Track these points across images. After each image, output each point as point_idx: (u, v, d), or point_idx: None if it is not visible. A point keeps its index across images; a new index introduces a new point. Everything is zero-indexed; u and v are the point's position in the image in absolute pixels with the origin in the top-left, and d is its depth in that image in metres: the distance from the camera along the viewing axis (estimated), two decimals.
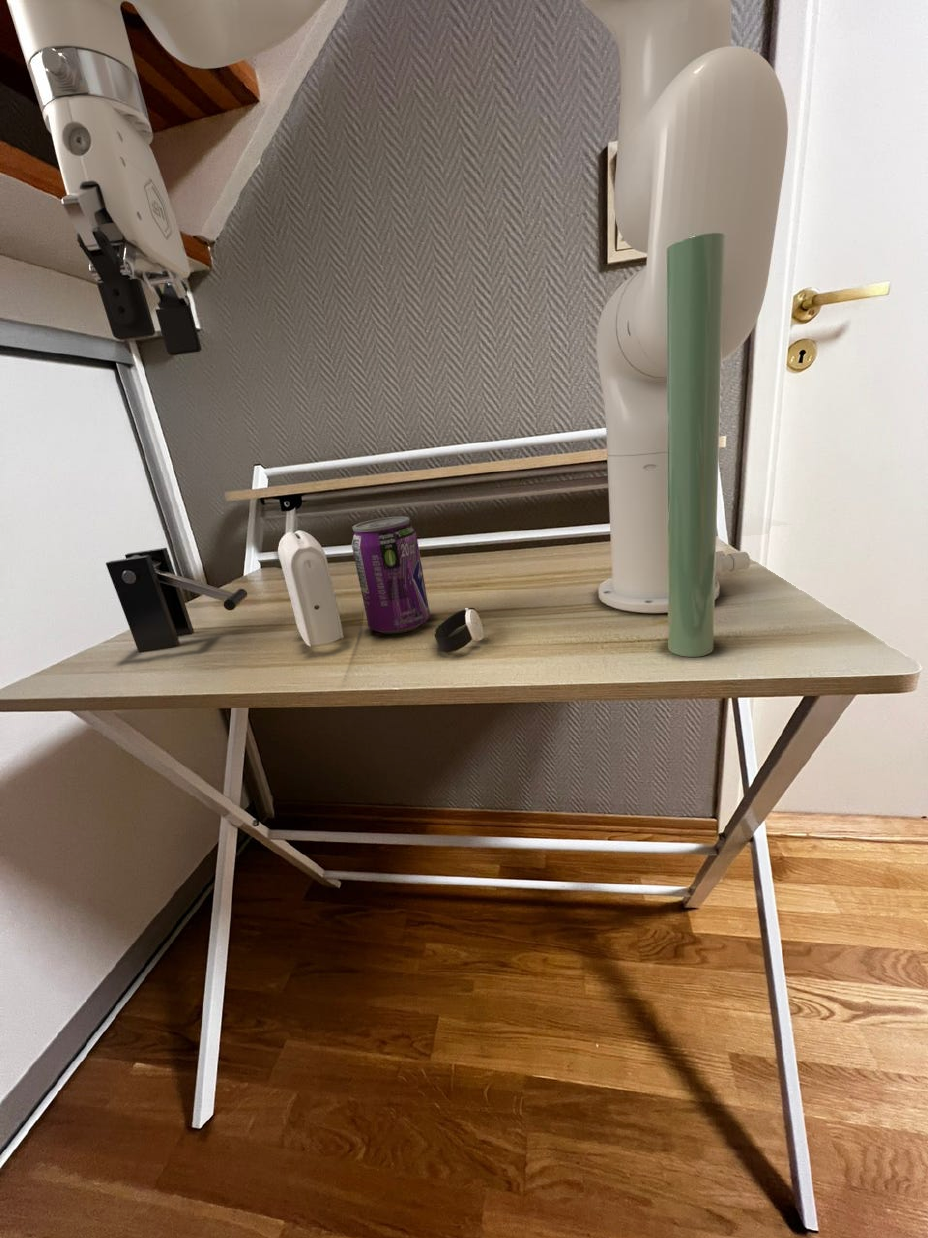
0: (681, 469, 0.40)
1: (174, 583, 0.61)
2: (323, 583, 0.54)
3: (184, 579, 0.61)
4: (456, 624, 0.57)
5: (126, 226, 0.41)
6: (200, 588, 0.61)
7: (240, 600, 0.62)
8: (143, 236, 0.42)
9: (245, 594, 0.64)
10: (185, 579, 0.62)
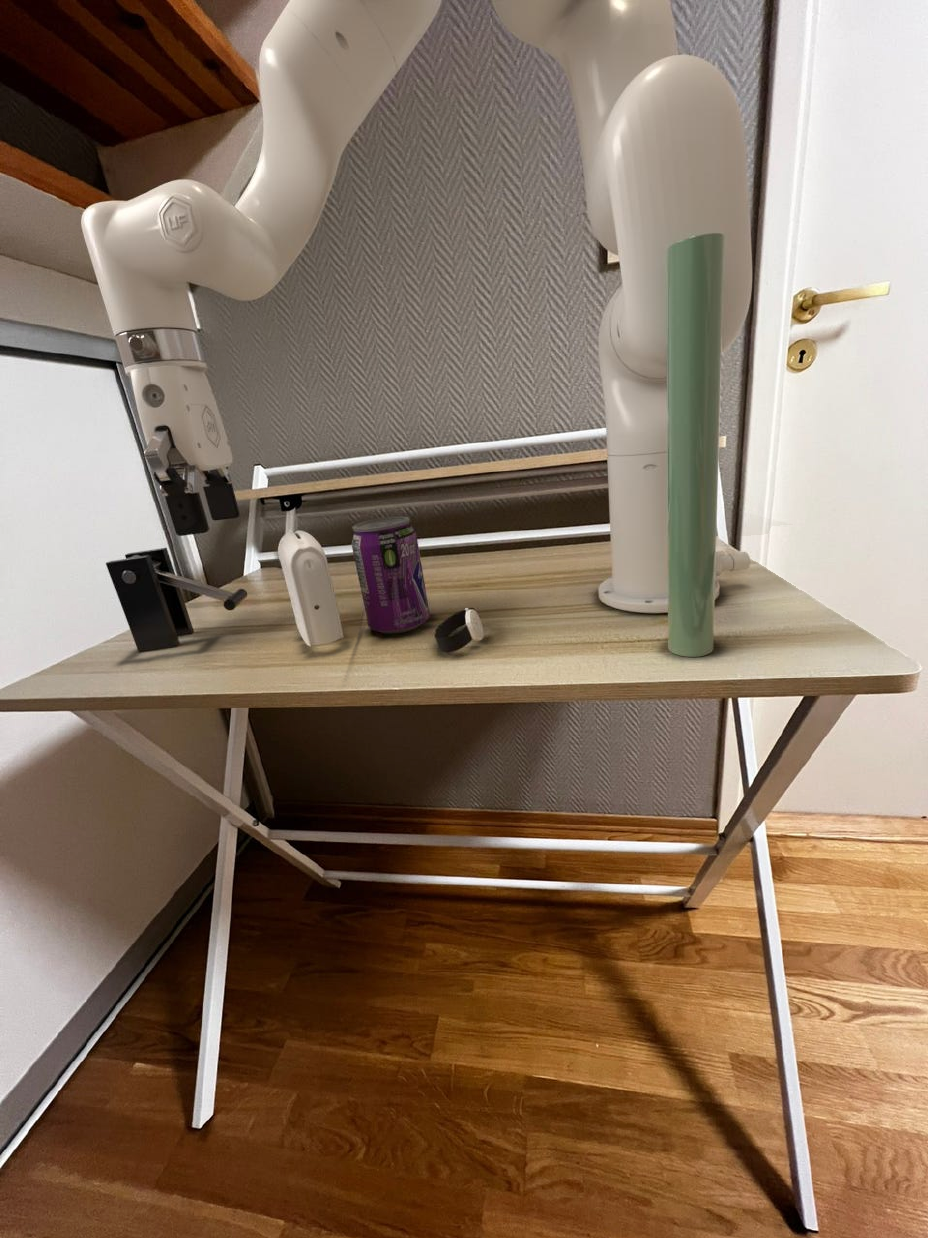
0: (681, 469, 0.40)
1: (174, 583, 0.61)
2: (323, 583, 0.54)
3: (184, 579, 0.61)
4: (456, 624, 0.57)
5: (189, 456, 0.52)
6: (200, 588, 0.61)
7: (240, 600, 0.62)
8: (202, 460, 0.53)
9: (245, 594, 0.64)
10: (185, 579, 0.62)
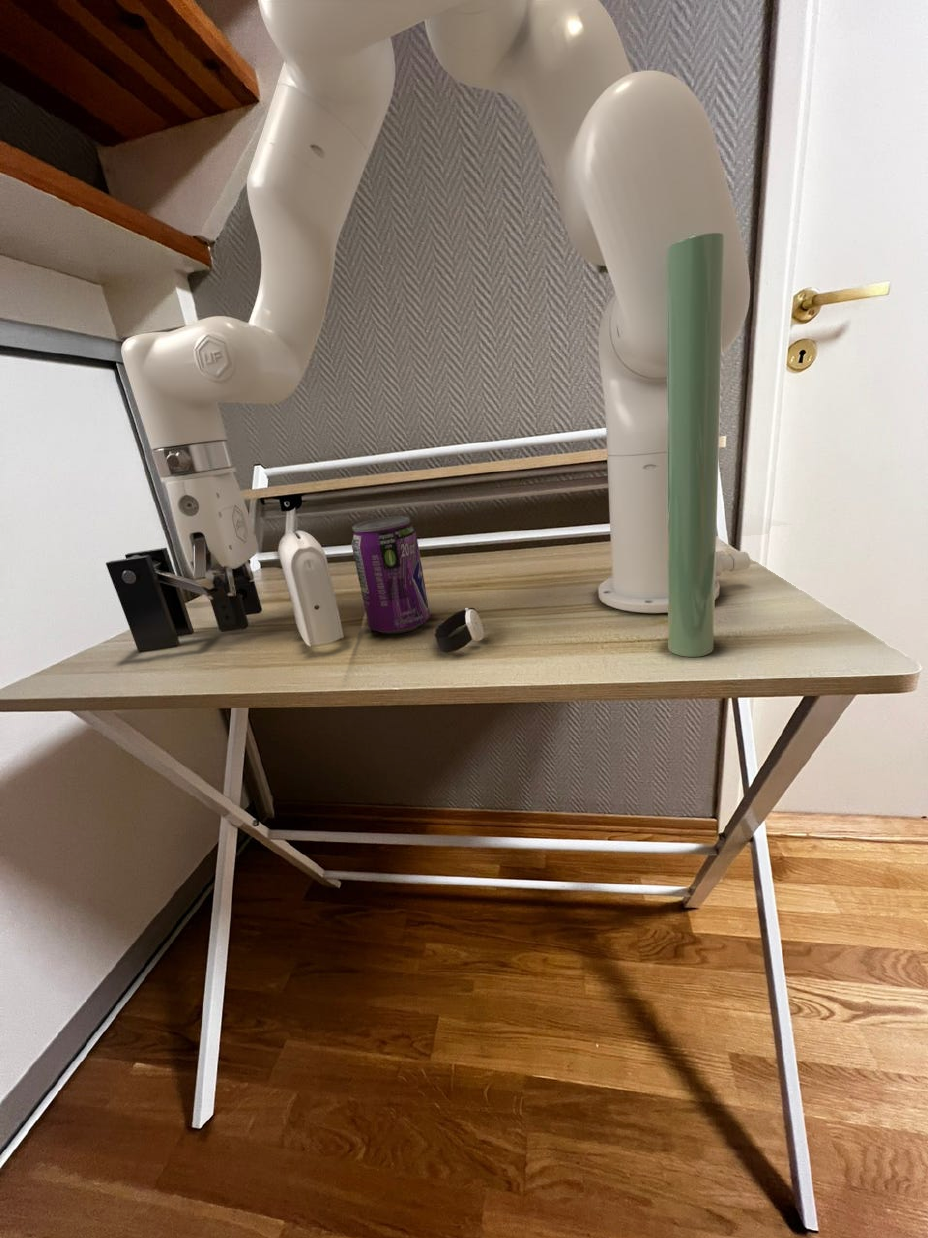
0: (681, 469, 0.40)
1: (174, 583, 0.61)
2: (323, 583, 0.54)
3: (184, 579, 0.61)
4: (456, 624, 0.57)
5: (222, 558, 0.56)
6: (200, 588, 0.61)
7: None
8: (233, 561, 0.57)
9: (245, 594, 0.64)
10: (185, 579, 0.62)
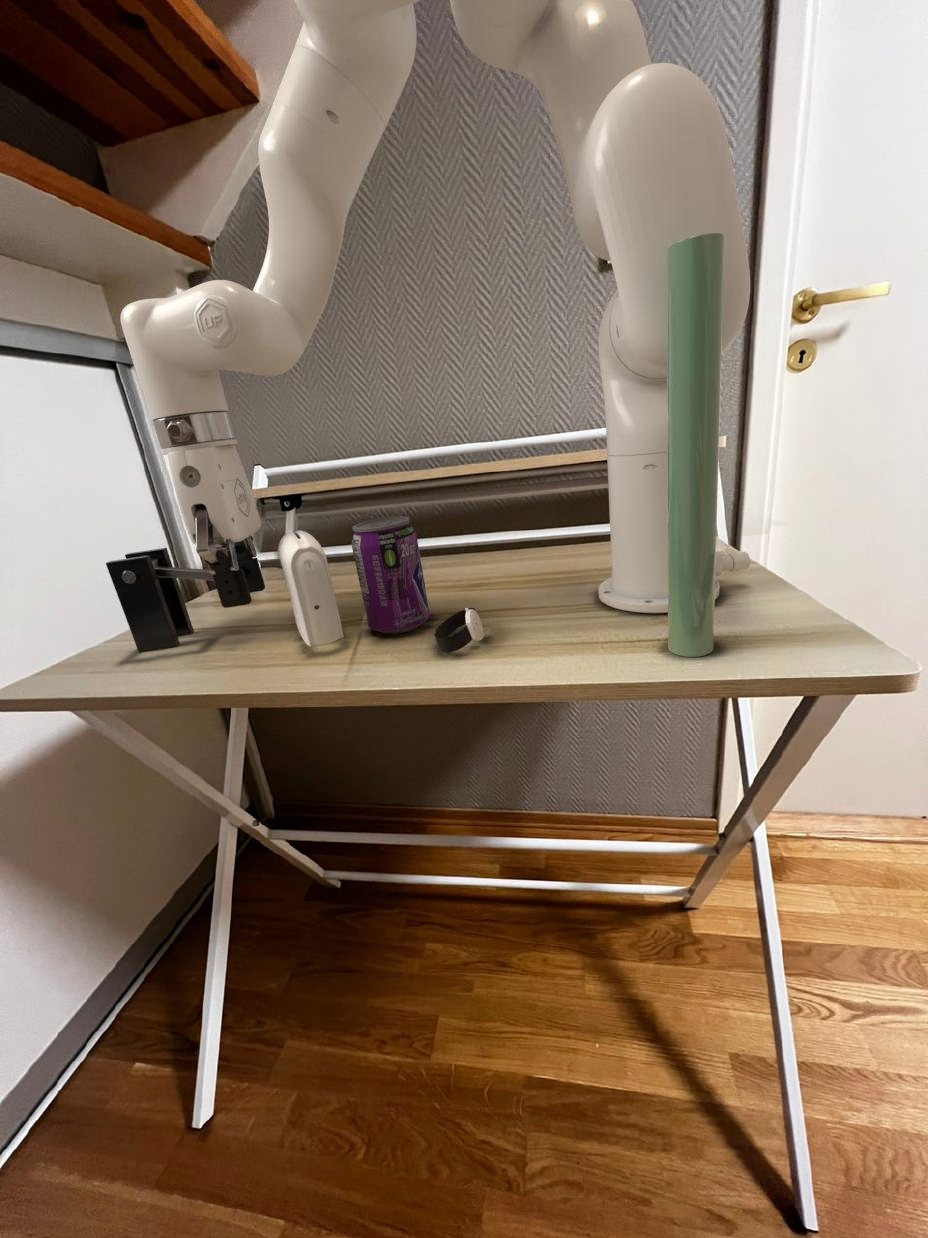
0: (681, 469, 0.40)
1: (175, 575, 0.61)
2: (323, 583, 0.54)
3: (183, 569, 0.61)
4: (456, 624, 0.57)
5: (224, 531, 0.55)
6: (201, 573, 0.61)
7: None
8: (235, 534, 0.56)
9: (247, 571, 0.63)
10: (184, 569, 0.61)
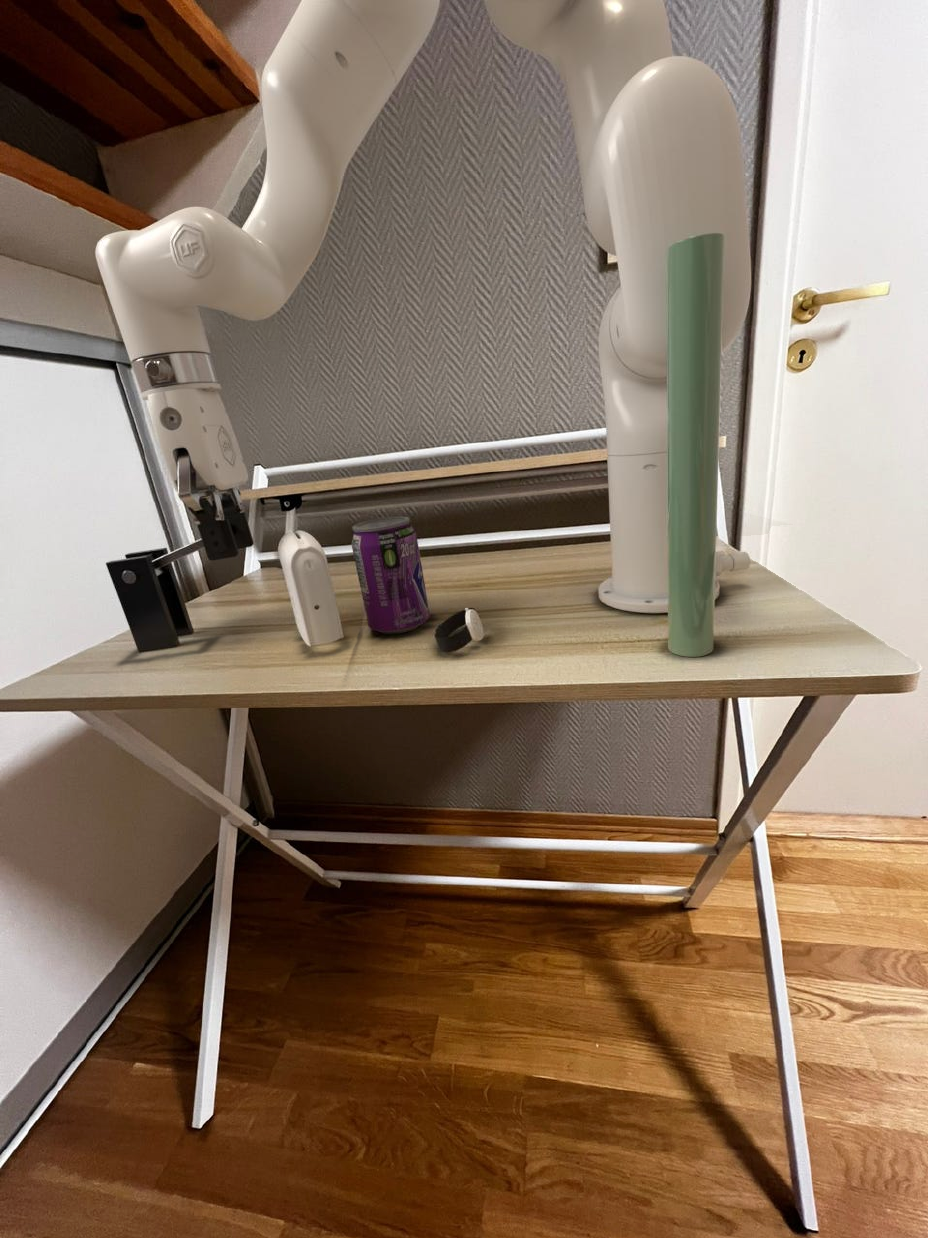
0: (681, 469, 0.40)
1: (170, 559, 0.60)
2: (323, 583, 0.54)
3: (175, 550, 0.60)
4: (456, 624, 0.57)
5: (207, 476, 0.53)
6: (190, 546, 0.60)
7: None
8: (219, 480, 0.54)
9: (232, 526, 0.61)
10: (176, 550, 0.60)
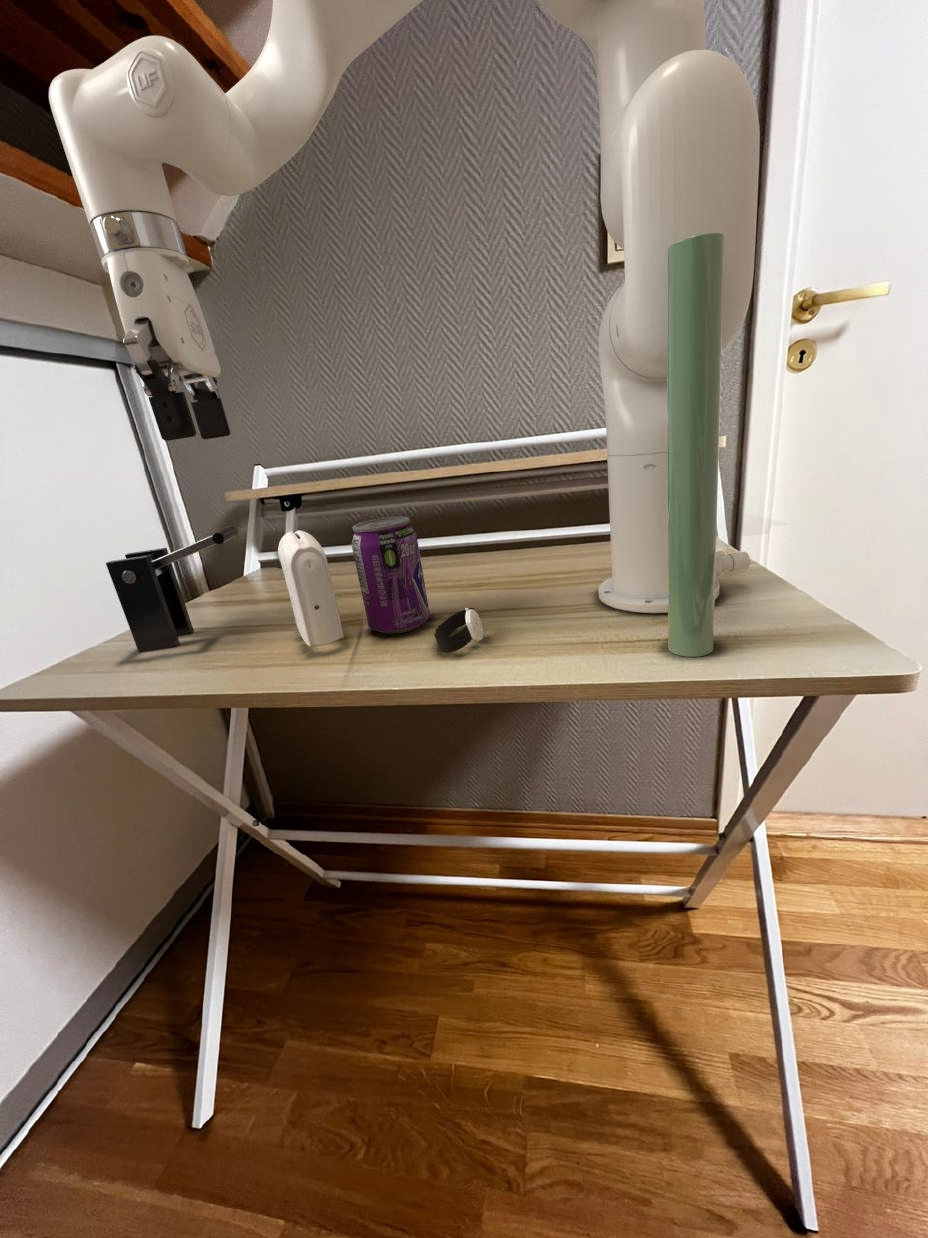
0: (681, 469, 0.40)
1: (170, 559, 0.60)
2: (323, 583, 0.54)
3: (175, 551, 0.60)
4: (456, 624, 0.57)
5: (172, 351, 0.50)
6: (191, 547, 0.60)
7: (228, 531, 0.60)
8: (186, 357, 0.50)
9: (232, 527, 0.61)
10: None
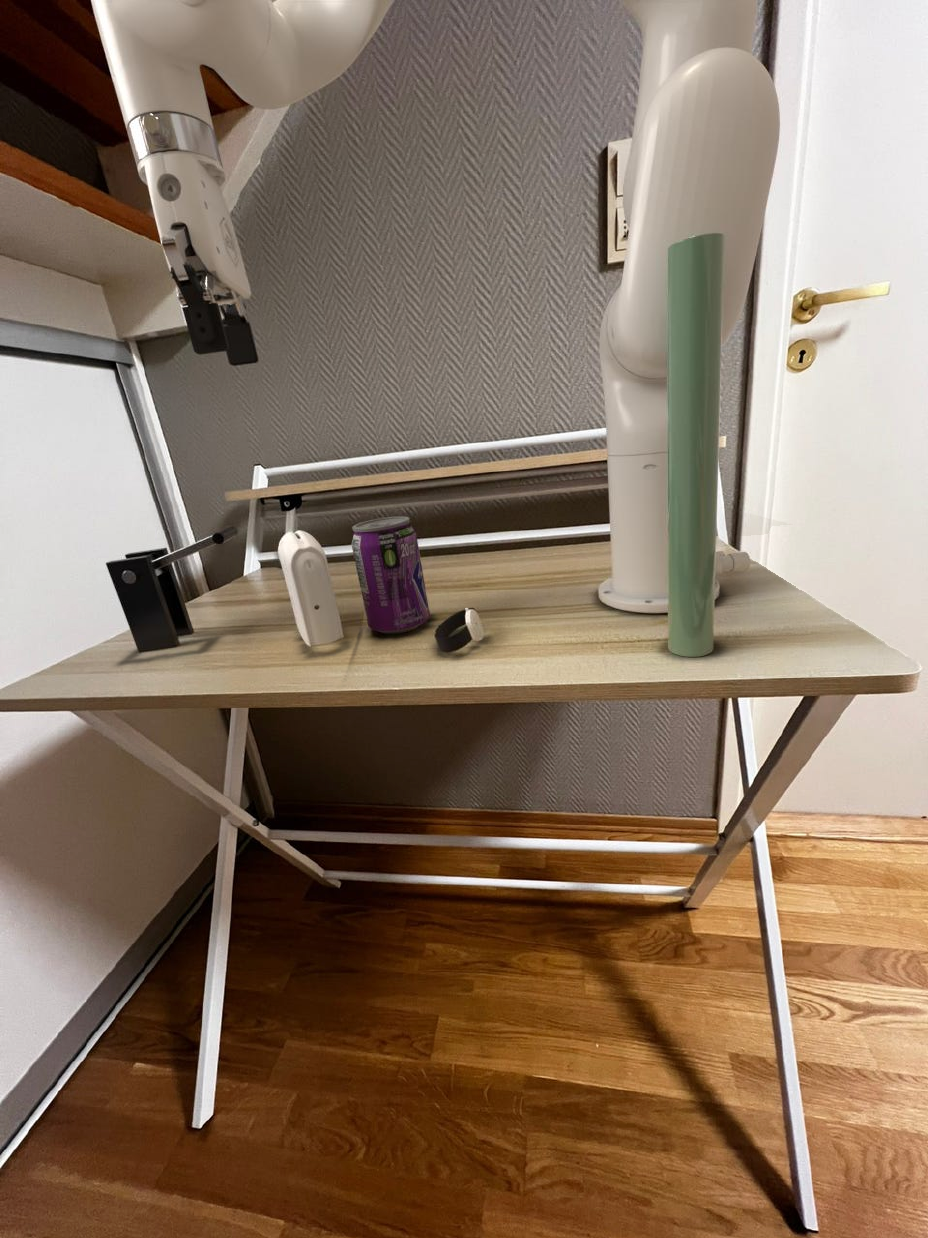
0: (681, 469, 0.40)
1: (170, 559, 0.60)
2: (323, 583, 0.54)
3: (175, 551, 0.60)
4: (456, 624, 0.57)
5: (208, 259, 0.49)
6: (191, 547, 0.60)
7: (228, 531, 0.60)
8: (221, 267, 0.50)
9: (232, 527, 0.61)
10: None
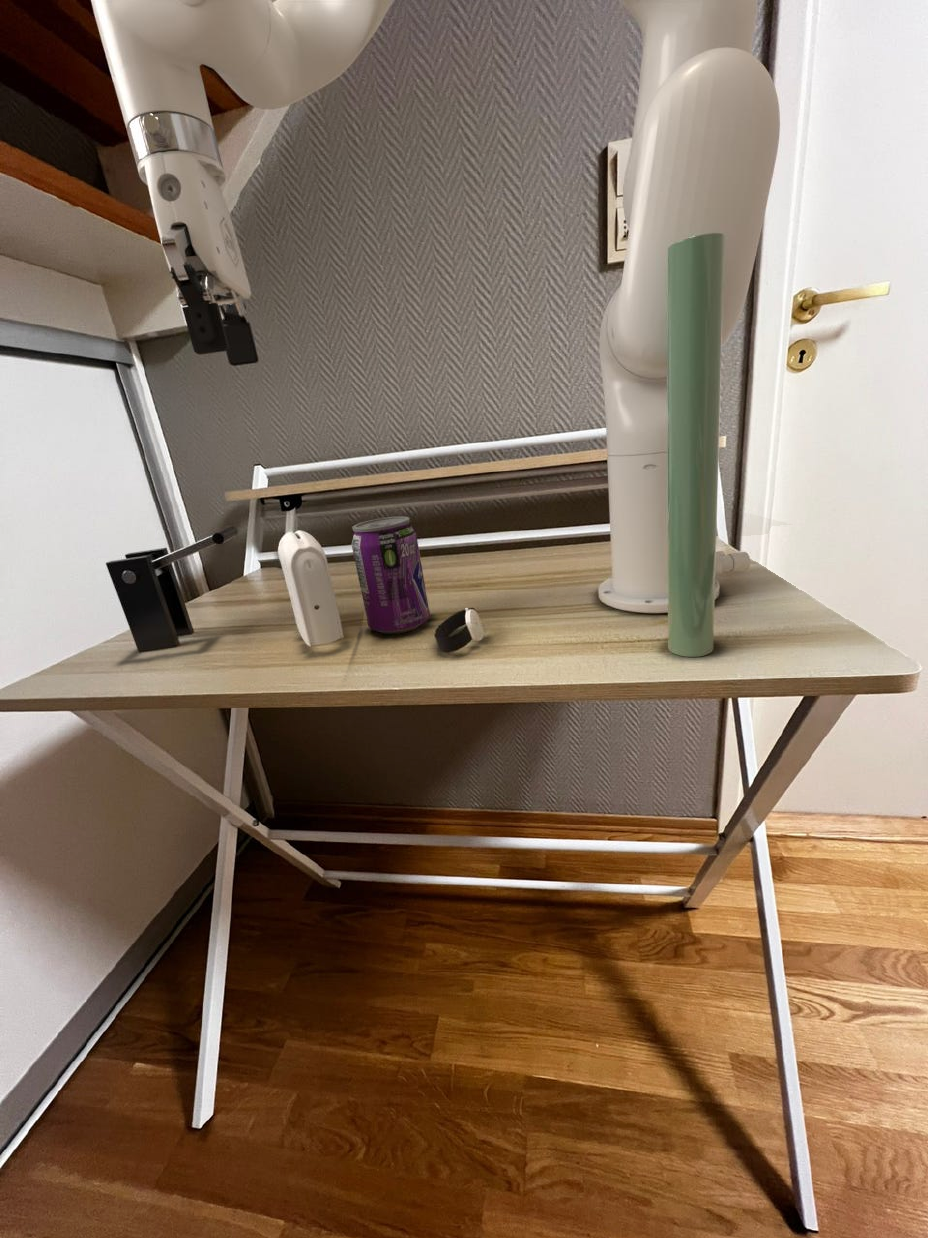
0: (681, 469, 0.40)
1: (170, 559, 0.60)
2: (323, 583, 0.54)
3: (175, 551, 0.60)
4: (456, 624, 0.57)
5: (208, 259, 0.49)
6: (191, 547, 0.60)
7: (228, 531, 0.60)
8: (221, 267, 0.50)
9: (232, 527, 0.61)
10: None
